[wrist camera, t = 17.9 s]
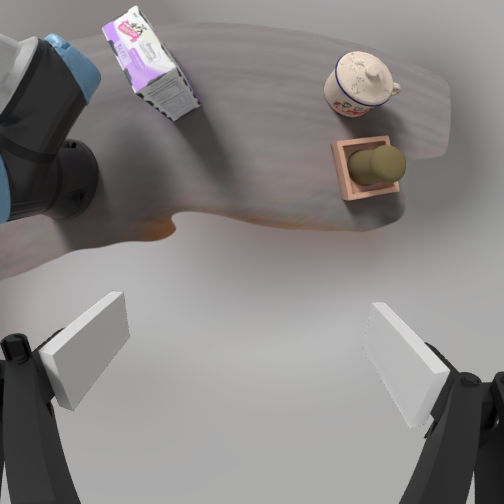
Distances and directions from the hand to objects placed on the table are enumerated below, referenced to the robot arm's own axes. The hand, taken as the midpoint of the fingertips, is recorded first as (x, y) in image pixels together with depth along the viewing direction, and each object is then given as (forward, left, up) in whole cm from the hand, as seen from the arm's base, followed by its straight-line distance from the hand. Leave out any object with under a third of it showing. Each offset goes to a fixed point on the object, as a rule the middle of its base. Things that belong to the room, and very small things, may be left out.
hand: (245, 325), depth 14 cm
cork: (+20, +6, -32) cm, 38 cm away
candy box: (-8, +28, -33) cm, 44 cm away
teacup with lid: (+22, +19, -33) cm, 44 cm away
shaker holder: (+20, +6, -33) cm, 39 cm away
